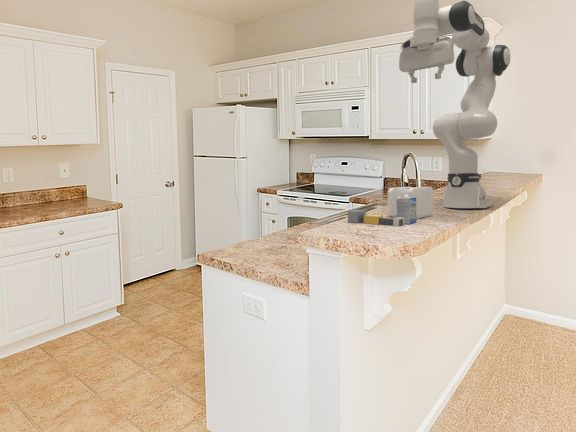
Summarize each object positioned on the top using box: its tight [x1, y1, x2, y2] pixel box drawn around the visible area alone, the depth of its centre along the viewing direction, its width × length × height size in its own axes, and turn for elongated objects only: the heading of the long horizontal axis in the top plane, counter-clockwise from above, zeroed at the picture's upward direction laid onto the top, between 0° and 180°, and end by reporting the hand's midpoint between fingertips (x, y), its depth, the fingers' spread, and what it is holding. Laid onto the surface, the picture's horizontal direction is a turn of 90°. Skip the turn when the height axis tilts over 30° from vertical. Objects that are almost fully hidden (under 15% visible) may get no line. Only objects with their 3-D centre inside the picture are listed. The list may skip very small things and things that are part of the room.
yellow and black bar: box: [359, 214, 405, 227], centre depth 155 cm, size 4×16×3 cm, turn 44°
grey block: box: [347, 209, 367, 224], centre depth 162 cm, size 5×5×4 cm
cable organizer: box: [387, 186, 434, 220], centre depth 173 cm, size 15×11×12 cm
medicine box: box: [396, 197, 417, 225], centre depth 157 cm, size 8×4×9 cm, turn 148°
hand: (425, 80), depth 167 cm, fingers open, 8 cm apart
